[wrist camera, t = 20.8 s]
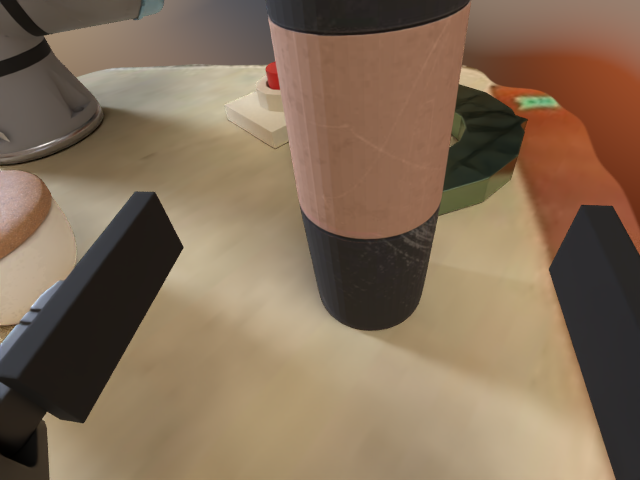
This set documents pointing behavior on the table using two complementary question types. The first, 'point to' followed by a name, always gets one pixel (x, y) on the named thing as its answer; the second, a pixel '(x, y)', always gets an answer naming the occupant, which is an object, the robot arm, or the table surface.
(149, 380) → the table surface
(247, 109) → the switch box
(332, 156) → the travel mug
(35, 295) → the trinket box
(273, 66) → the switch button
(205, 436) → the table surface
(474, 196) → the ring
